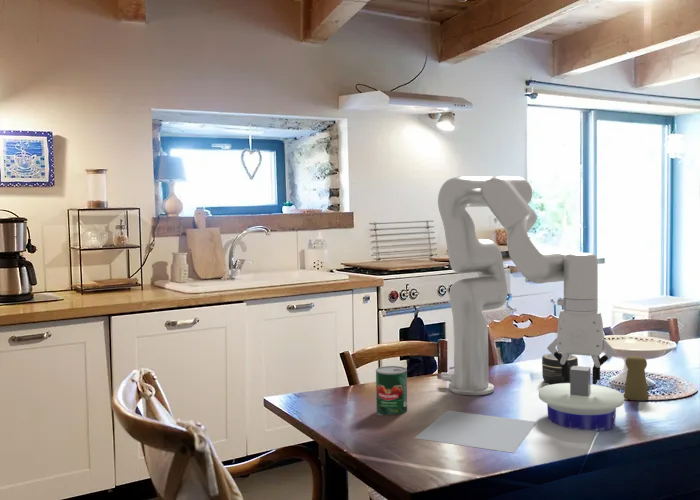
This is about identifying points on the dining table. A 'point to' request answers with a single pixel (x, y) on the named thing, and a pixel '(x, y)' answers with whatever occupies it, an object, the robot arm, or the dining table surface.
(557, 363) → the jar
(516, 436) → the mat
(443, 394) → the dining table surface
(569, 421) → the dog bowl
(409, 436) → the dining table surface
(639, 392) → the olive pawn
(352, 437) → the dining table surface
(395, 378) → the canned tomato
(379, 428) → the dining table surface
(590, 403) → the lid
